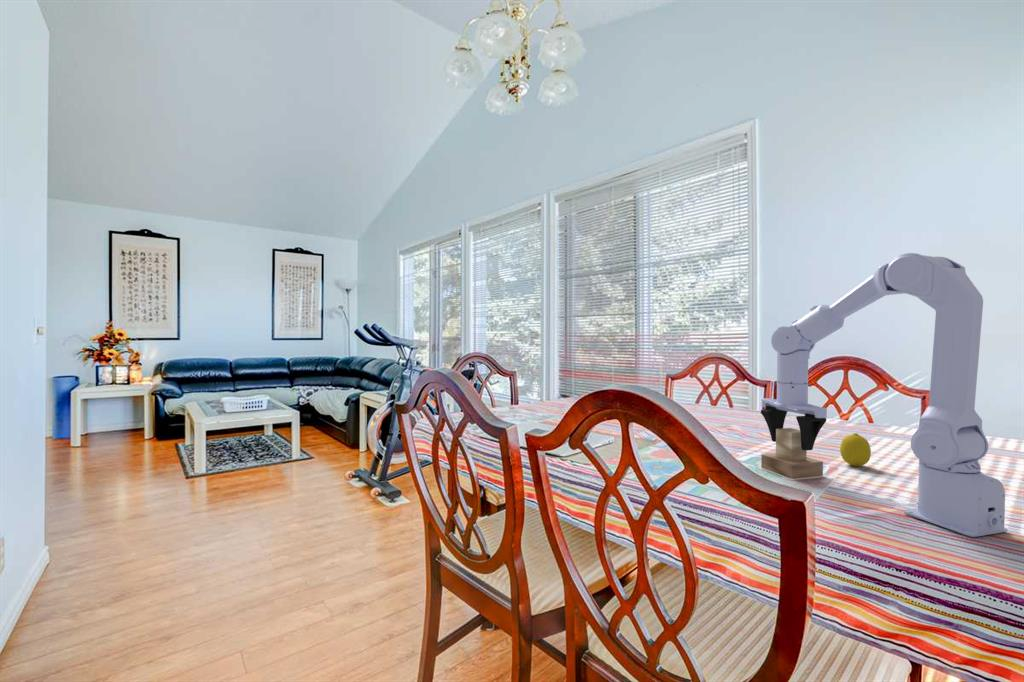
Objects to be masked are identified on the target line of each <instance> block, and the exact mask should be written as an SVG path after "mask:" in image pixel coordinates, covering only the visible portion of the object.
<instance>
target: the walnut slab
mask: <svg viewBox="0 0 1024 682" xmlns="http://www.w3.org/2000/svg"><path fill="white" fill-rule="evenodd" d="M760 460H761V461H760V463H761V464H760V465H761V466H760V467H761V468H764V469H766V470H769V471H772V472H774V473H777V474H780V475H783V476H785V477H788V478H791V479H797V478H807V477H816V476H823V475H824V473H823V472H824V461H822V460H819V459H816V458H813V457H809V456H807V457H806V460H798V461H790V460H786V459H783V458H780V457H777V456H776V452H773V453H761V459H760ZM761 468H760V469H761ZM766 470H765V471H766ZM769 471H768V472H769ZM774 473H773V474H774ZM777 474H776V475H777ZM780 475H779V476H780ZM785 477H784V478H785ZM788 478H787V479H788Z"/></svg>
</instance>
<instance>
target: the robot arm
mask: <svg viewBox="0 0 1024 682" xmlns="http://www.w3.org/2000/svg"><path fill="white" fill-rule="evenodd" d="M966 273H967V272H966V267H965V266H963V265H962V264H960V263H958V262H957V261H954V260H952V259H950V258H947V257H944V256H931V255H923V254H919V253H914V252H908V253H907V252H906V253H903V254H900V255H898V256H896V257H894V258H893V259H892V260H891V261H890V262H889V263H885V264H883V265H881V266H879V267H878V268H877V269H876V271H875V272H874V273H873V274H872V275H871V276H869V277H868V278H867V279H865V280H864V281H862V282H861V283H860V284H859V285H857V286H856V287H855V288H853V289H851V290H850V291H849V292H847V293H846V294H845V295H843V296H842V297H841V298H839V299H838V300H837V301H836V302H834V303H832V304H831V305H829V304H820V305H813V306H812V307H811V308H810V309H809V310H810V312H808V313H807V314H806V315H804V316H803V317H801V318H800V319H794V320H793V321H792V322H791V325H790V326H780V327H777V329H776V330H775V331H773V334H772V336H771V341H770V342H771V343H770V344H771V346H772V348H773V349H774V351H775V352H776V399H775V398H769V397H768V398H766V397H765V398H764V397H763V398H761V408H763V409H760V414H761V416H762V417H763V418H764V420H765V423H766V424H767V428H768V431H769V434H770V438H771V441H772V442H774V443H776V429H782V428H784V425H785V421H786V417H787V414H788V412H790V413H795V414H799V415H800V416H798V415H796V416H795V417H796V421H797V423H798V427H799V428H798V429H799V430H800V433H801V448H802V450H805V451H806V450H807V451H813V449H814V445H815V442H816V439H817V437H818V435H819V433H820V431H821V429H822V428H823V427H824V425H825V423H826V422H827V418H828V416H827V414H828V413H827V411H828V409H827V408H826V407H822V406H817V405H815V404H812V403H811V404H810V403H809V401H808V400H809V359H810V354H811V352H812V350H813V349H814V347H815V345H816V344H817V343H818V342H820V341H821V340H822V341H823V339H825V338H827V337H828V336H831V335H832V334H834V333H835V332H837V331H839V330H841V328H843V326H844V323H845V319H846V318H848V317H849V316H851V315H853V314H855V313H856V312H859V311H860V310H862V309H863V308H865V307H867V306H869V305H870V304H873V303H875V302H876V301H879V300H880V299H882V298H883V297H885V296H890V295H902V294H905V295H906V294H907V295H910V296H912V297H916V298H918V299H919V300H920V301H922V302H923V303H924V304H926V305H928V306H929V307H930V308H932V309H933V310H934V311H935V319H934V332H933V345H932V346H933V347H932V358H931V359H932V361H931V372H930V385H929V386H930V387H929V397H928V405H927V407H926V409H925V411H924V412H923V414H922V415H921V416H920V418H919V423H918V424H919V425H918V428H917V430H916V431H915V432H914V434H913V435H912V437H911V439H910V448H911V450H912V453H913V454H914V456H915V457H916V458H917V459H918V485H917V486H918V487H917V488H918V491H917V492H918V494H917V495H918V496H917V497H918V498H917V500H918V501H917V508H913V509H905V510H904V511H903V512H904V514H905V515H908V516H911V517H914V518H916V519H920V520H922V521H925V522H928V523H931V524H934V525H935V526H939V527H942V528H945V529H948V530H951V531H953V532H956V533H959V534H961V535H965V536H967V537H972V538H977V537H982V536H989V535H990V536H991V535H995V534H1001V533H1006V532H1008V530H1009V529H1008V528H1007V527H1005V519H1006V518H1005V514H1006V513H1005V512H1006V511H1005V510H1006V507H1005V505H1006V492H1005V488H1004V484H1003V483H1002V482H1001V481H1000V480H999V479H998V478H995V477H994V476H993V477H992V476H989V475H987V474H985V473H983V472H982V470H981V469H982V467H981V464H980V463H979V460H981V459H983V458H984V457H985V456H986V454H987V453H988V451H989V441H988V439H987V437H986V434H985V433H984V432H983V419H982V418H981V416H980V415H979V414H978V412H976V410H975V405H976V404H975V403H976V394H977V393H976V392H977V381H978V369H979V357H980V347H981V346H980V344H981V343H980V342H981V334H982V320H983V309H984V308H983V307H984V299H983V298H984V297H983V295H982V294H981V292H980V291H979V289H978V288H977V287H976V286H975V284H974V283H973V281H972V280H971V279H970V277H969V276H968V274H966Z"/></svg>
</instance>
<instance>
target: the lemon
mask: <svg viewBox="0 0 1024 682" xmlns="http://www.w3.org/2000/svg"><path fill="white" fill-rule="evenodd" d="M839 450H840V451H839V452H840V456H841V457H842V459H843V461H844V462H845V463H847V464H849V465H850V466H852V467H856V468H857V467H862V466H864V465H866V464H868V462H869V461H870V459H871V456H872V455H871V454H872V451H871V445H870V443H869V442H868V440H867V439H866V438H865V437H863V436H862V435H860V434H859V433H857V432H854V433H852V434H848V435H847V436H845V437H844V438H842V441H841V443H840V448H839Z"/></svg>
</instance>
